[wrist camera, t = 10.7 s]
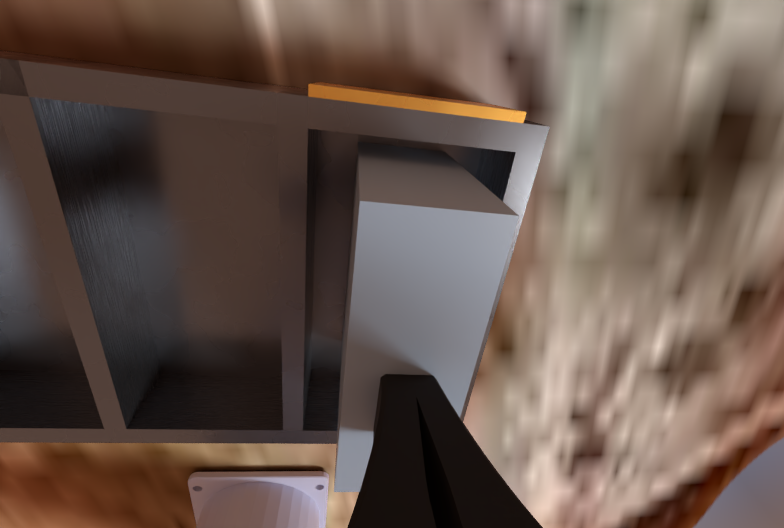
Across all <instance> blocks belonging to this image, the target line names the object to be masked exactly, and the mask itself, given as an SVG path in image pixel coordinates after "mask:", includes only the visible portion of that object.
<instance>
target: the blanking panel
mask: <svg viewBox="0 0 784 528" xmlns="http://www.w3.org/2000/svg"><path fill="white" fill-rule="evenodd" d="M518 218H519V215H518V214H516V213H515V212H514V211H513V210H512V209H511V208H510V207H508V206H507V205H506V204H505V203H504V202H503V201H501V200H500V199H499V198H498V197H497V196H496V195H494V194H493V193H492V192H491V191H490V190H489V189H488V188H486V187H485V186H484V185H483V184H482V183H481V182H479V181H478V180H477V179H476V178H475V177H474V176H472V175H471V174H470V173H469V172H468V171H467V170H466V169H464V168H463V167H462V166H461V165H460V164H459V163H457V162H456V161H455V160H454V159H453V158H452V157H451V156H449V155H448V154H447V153H446V152H443V151H435V150H426V149H418V148H409V147H400V146H392V145H383V144H374V143H366V142H358V151H357V163H356V176H355V188H354V200H353V213H352V225H351V238H350V250H349V263H348V275H347V288H346V300H345V312H344V325H343V337H342V354H341V373H340V392H339V410H338V429H337V448H336V467H335V485H334V492H360V489H361V486H362V482H363V479H364V475H365V472H366V468H367V465H368V461H369V457H370V454H371V450H372V446H373V428H374V421H375V414H376V407H377V400H378V393H379V386H380V378H381V377H382V376H383V375H385V374H404V375H433V376H434V377H435V378H436V379H437V381H438V383H439V385H440V386H441V388H442V390H443V391H444V393H445V395H446V396H447V398H448V400H449V401H450V403H451V405H452V406H453V408H454V409H455V411H456V412H457V414H458V416H459V417H460V416H461V413H462V409H463V406H464V402H465V399H466V396H467V392H468V389H469V385H470V382H471V379H472V375H473V372H474V368H475V365H476V361H477V358H478V355H479V351H480V348H481V344H482V341H483V338H484V334H485V331H486V327H487V324H488V321H489V317H490V314H491V310H492V307H493V303H494V300H495V297H496V293H497V290H498V286H499V283H500V280H501V276H502V273H503V269H504V266H505V263H506V259H507V256H508V252H509V249H510V246H511V242H512V239H513V235H514V232H515V228H516V225H517V222H518Z"/></svg>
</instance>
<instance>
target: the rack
mask: <svg viewBox="0 0 784 528" xmlns="http://www.w3.org/2000/svg"><path fill="white" fill-rule="evenodd" d="M525 116H526V112H524V111H520V110H515V109H510V108H506V107H501V106H497V105H492V104H484V103H477V102H469V101H461V100H454V99H446V98H438V97H431V96H423V95H415V94H408V93H400V92H392V91H385V90H377V89H369V88H362V87H354V86H346V85H338V84H331V83H323V82H316V83H311V84H309V86H308V89H301V88H293V87H286V86H278V85H270V84H262V83H254V82H246V81H238V80H231V79H223V78H215V77H207V76H199V75H191V74H183V73H175V72H168V71H160V70H152V69H144V68H136V67H128V66H120V65H113V64H105V63H97V62H89V61H81V60H73V59H65V58H57V57H50V56H42V55H34V54H26V53H18V52H10V51H2V50H0V442H62V443H304V444H337V429H338V410H339V392H340V373H341V354H342V337H343V325H344V312H345V300H346V288H347V275H348V263H349V250H350V238H351V225H352V213H353V200H354V188H355V176H356V163H357V151H358V142H366V143H374V144H383V145H392V146H400V147H409V148H418V149H426V150H435V151H443V152H446V153H447V154H448V155H449V156H451V157H452V158H453V159H454V160H455V161H456V162H457V163H459V164H460V165H461V166H462V167H463V168H464V169H466V170H467V171H468V172H469V173H470V174H471V175H472V176H474V177H475V178H476V179H477V180H478V181H479V182H481V183H482V184H483V185H484V186H485V187H486V188H488V189H489V190H490V191H491V192H492V193H493V194H494V195H496V196H497V197H498V198H499V199H500V200H501V201H503V202H504V203H505V204H506V205H507V206H508V207H510V208H511V209H512V210H513V211H514V212H515V213H516V214H518V215H519V218H518V222H517V225H516V228H515V232H514V235H513V239H512V242H511V246H510V249H509V252H508V256H507V259H506V263H505V266H504V269H503V273H502V276H501V280H500V283H499V286H498V290H497V293H496V297H495V300H494V303H493V307H492V310H491V314H490V317H489V321H488V324H487V327H486V331H485V334H484V338H483V341H482V344H481V348H480V351H479V355H478V358H477V361H476V365H475V368H474V372H473V375H472V379H471V382H470V385H469V389H468V392H467V396H466V399H465V402H464V406H463V409H462V413H461V416H460V419H461V420H462V422H463V420H464V416H465V413H466V410H467V406H468V403H469V399H470V396H471V393H472V389H473V386H474V382H475V379H476V376H477V372H478V369H479V365H480V362H481V359H482V355H483V352H484V348H485V345H486V342H487V338H488V335H489V331H490V328H491V325H492V321H493V318H494V314H495V311H496V308H497V304H498V301H499V297H500V294H501V291H502V287H503V284H504V280H505V277H506V274H507V270H508V267H509V263H510V260H511V257H512V253H513V250H514V246H515V243H516V240H517V236H518V233H519V229H520V226H521V223H522V219H523V216H524V212H525V209H526V206H527V202H528V199H529V195H530V192H531V189H532V185H533V182H534V178H535V175H536V172H537V168H538V165H539V161H540V158H541V155H542V151H543V148H544V144H545V141H546V138H547V134H548V131H549V126H546V125H542V124H538V123H534V122H531V121H527V120H524V119H525Z"/></svg>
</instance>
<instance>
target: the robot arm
mask: <svg viewBox="0 0 784 528" xmlns="http://www.w3.org/2000/svg"><path fill="white" fill-rule="evenodd" d="M328 481H329V475H328V474H327V473H326V472H324V471H254V472H194V473H192V474H191V475H190V477H189V479H188V487H189V492H190V497H191V501H192V506H193V511H194V516H195V521H196V528H325V525H326V511H327V496H328ZM348 528H543V527H542V526H541V525H540V524H539V523H538V522H537V520H536V519H535V518H534V517H533V516H532V515H531V513H530V512H529V511H528V510H527V509H526V507H525V506H524V505H523V504H522V503H521V501H520V500H519V499H518V498H517V496H516V495H515V494H514V493H513V491H512V490H511V489H510V488H509V486H508V485H507V484H506V482H505V481H504V480H503V478H502V477H501V476H500V474H499V473H498V472H497V470H496V469H495V468H494V466H493V465H492V464H491V462H490V461H489V460H488V458H487V457H486V455H485V454H484V453H483V451H482V450H481V448H480V447H479V445H478V444H477V443H476V441H475V440H474V438H473V437H472V435H471V434H470V432H469V431H468V429H467V428H466V426H465V425H464V423H463V422H462V420H461V419H460V417H459V416H458V414H457V412H456V411H455V409H454V408H453V406H452V405H451V403H450V401H449V400H448V398H447V396H446V395H445V393H444V391H443V390H442V388H441V386H440V385H439V383H438V381H437V379H436V378H435V377H434V376H433V375H404V374H385V375H383V376H382V377H381V378H380V386H379V393H378V400H377V407H376V414H375V421H374V428H373V446H372V450H371V454H370V457H369V461H368V465H367V468H366V472H365V475H364V479H363V482H362V486H361V489H360V492H359V495H358V498H357V501H356V504H355V507H354V510H353V513H352V516H351V519H350V522H349V525H348Z"/></svg>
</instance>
